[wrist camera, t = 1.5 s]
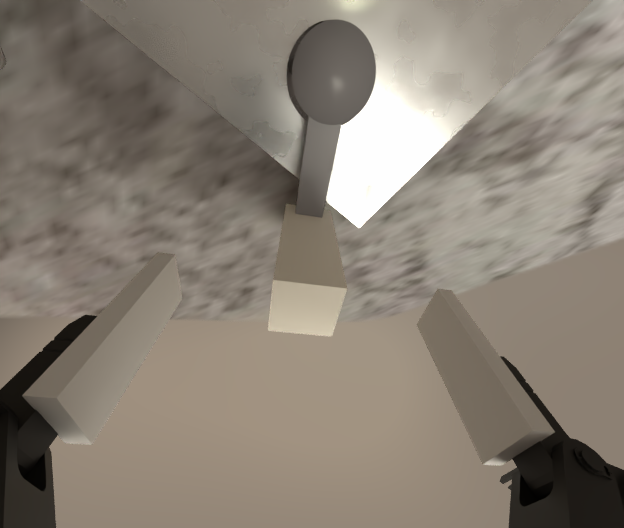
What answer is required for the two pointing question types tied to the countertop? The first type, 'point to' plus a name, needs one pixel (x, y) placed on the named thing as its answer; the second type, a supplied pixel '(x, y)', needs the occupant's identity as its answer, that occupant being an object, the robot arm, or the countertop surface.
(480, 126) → the countertop surface
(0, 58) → the rock
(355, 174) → the level plate
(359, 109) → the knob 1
